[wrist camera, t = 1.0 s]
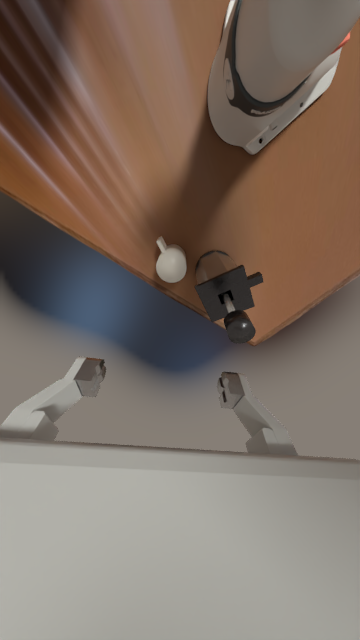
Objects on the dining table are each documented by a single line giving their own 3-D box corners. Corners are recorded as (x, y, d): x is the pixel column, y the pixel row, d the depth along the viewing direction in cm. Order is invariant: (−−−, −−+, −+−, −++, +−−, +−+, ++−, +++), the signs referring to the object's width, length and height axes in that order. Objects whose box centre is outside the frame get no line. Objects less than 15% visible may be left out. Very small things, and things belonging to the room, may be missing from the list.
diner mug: (173, 227, 44) (171, 233, 37) (190, 263, 50) (191, 275, 43) (149, 242, 47) (143, 250, 40) (168, 275, 53) (165, 287, 46)
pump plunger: (224, 271, 42) (252, 320, 25) (229, 285, 44) (257, 338, 28) (208, 278, 43) (225, 329, 27) (214, 291, 46) (232, 346, 29)
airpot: (203, 291, 56) (210, 323, 42) (189, 261, 50) (192, 287, 36) (245, 273, 52) (269, 302, 38) (236, 238, 46) (260, 256, 31)
